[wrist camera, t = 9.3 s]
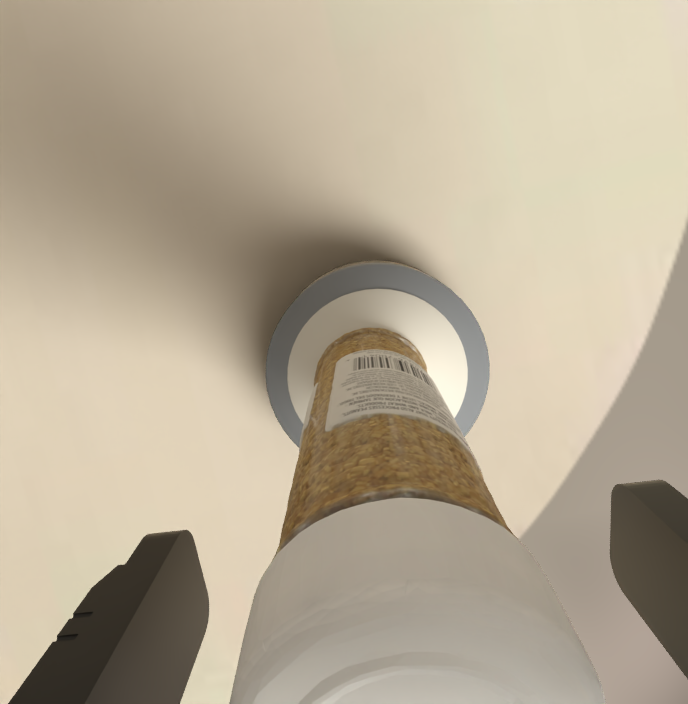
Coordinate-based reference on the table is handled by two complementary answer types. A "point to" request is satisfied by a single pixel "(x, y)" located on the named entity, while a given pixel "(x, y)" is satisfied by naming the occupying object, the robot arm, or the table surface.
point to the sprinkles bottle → (400, 560)
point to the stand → (378, 312)
